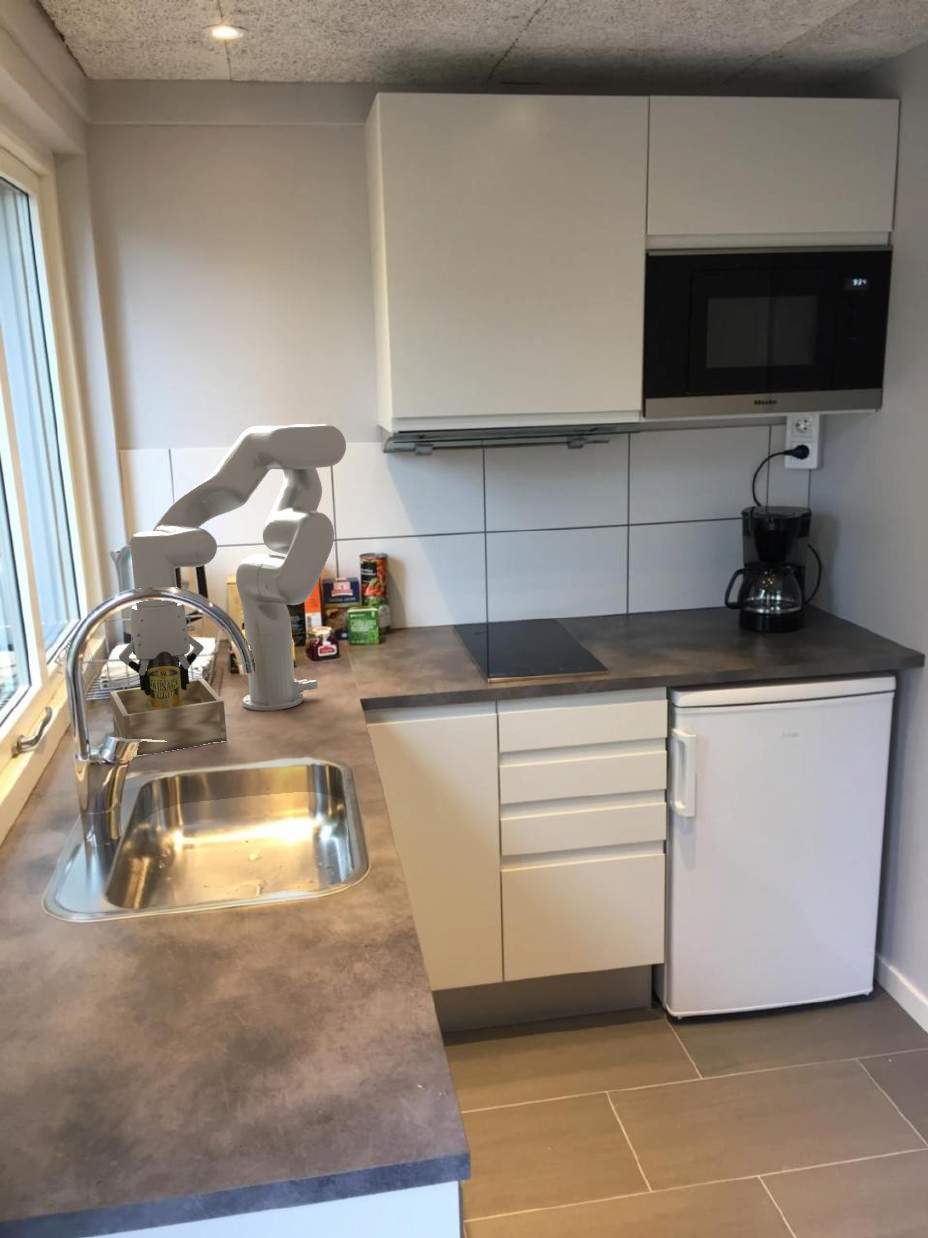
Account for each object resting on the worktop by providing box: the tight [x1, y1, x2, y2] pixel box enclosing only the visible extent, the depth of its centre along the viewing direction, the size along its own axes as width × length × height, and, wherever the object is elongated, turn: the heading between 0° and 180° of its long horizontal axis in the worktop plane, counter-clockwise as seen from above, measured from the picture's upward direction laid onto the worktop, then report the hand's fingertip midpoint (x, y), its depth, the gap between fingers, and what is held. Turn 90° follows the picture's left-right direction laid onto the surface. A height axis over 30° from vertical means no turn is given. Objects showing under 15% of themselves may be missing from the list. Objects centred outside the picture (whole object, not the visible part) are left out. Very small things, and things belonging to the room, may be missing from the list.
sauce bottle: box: [146, 652, 183, 711], centre depth 191 cm, size 7×6×20 cm
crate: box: [109, 678, 228, 755], centre depth 193 cm, size 18×18×8 cm
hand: (165, 690), depth 192 cm, fingers closed on sauce bottle, 6 cm apart
